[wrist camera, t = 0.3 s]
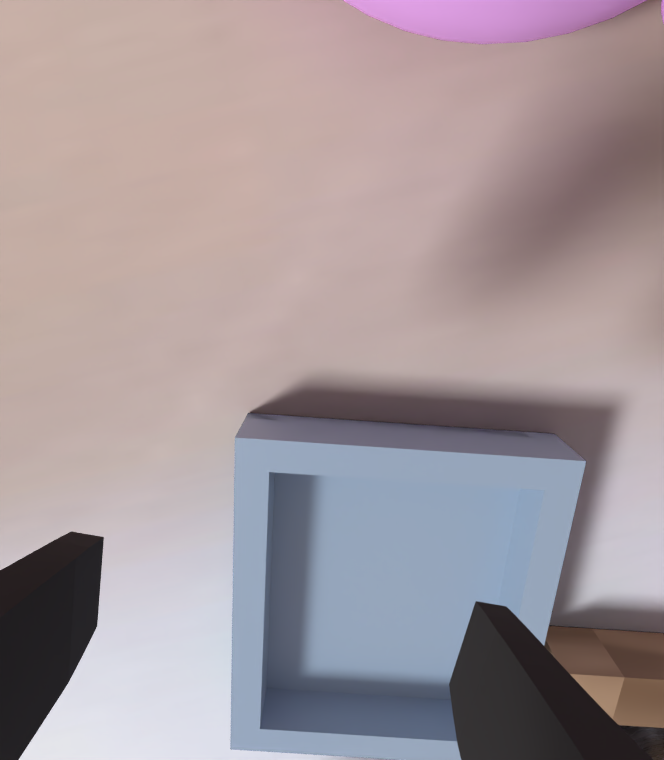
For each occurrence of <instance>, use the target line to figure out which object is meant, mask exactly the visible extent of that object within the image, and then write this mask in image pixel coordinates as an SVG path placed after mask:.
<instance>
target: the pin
mask: <svg viewBox="0 0 664 760" xmlns="http://www.w3.org/2000/svg"><path fill="white" fill-rule="evenodd" d="M619 726H620V727H621V728H622V729H623V730H624V731H625V732H626V733H627V734H628V735H629V736H630V737H631V738H632V739H633V740H634V741H635V742H636V743H637V744H638V745H639V746H640V747H641V748H642V749H643V750H644V751H645V752H646V753H647V754H648V755H649V756H650V757H651V758H652V759H653V760H664V728H656V727H640V726H625V725H619Z"/></svg>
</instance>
